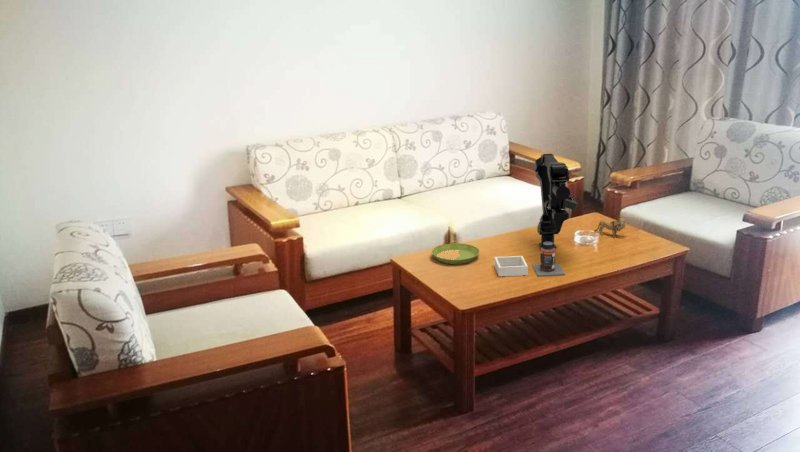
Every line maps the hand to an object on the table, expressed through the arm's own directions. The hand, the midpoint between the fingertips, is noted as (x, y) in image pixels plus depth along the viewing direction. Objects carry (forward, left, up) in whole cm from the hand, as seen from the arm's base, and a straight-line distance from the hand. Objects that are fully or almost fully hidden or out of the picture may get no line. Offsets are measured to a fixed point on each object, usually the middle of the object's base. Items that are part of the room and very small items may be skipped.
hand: (555, 228), depth 280 cm
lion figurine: (-25, +31, -13) cm, 42 cm away
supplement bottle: (+14, -6, -13) cm, 20 cm away
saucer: (-6, -42, -14) cm, 45 cm away
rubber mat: (+14, -6, -13) cm, 20 cm away
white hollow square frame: (+12, -21, -13) cm, 27 cm away
